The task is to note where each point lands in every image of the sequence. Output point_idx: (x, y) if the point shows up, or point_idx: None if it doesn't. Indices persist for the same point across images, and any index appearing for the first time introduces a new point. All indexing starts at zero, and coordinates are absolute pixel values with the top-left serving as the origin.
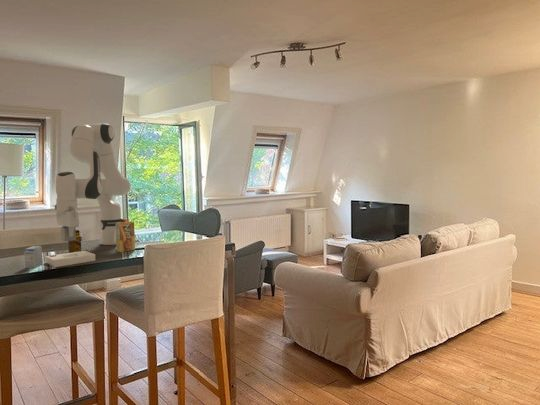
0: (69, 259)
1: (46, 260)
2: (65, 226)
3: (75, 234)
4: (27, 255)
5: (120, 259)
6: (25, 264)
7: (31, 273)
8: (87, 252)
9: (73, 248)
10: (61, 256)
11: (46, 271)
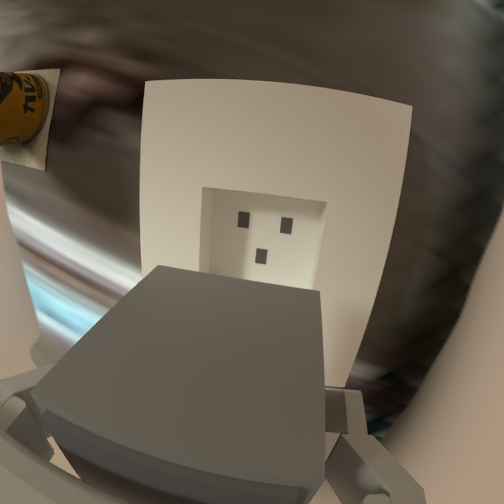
0: (369, 308)
1: None
2: (32, 446)
3: (322, 350)
4: None
5: (482, 16)
6: None
7: None
8: (251, 93)
9: (19, 125)
10: None
11: (386, 405)
